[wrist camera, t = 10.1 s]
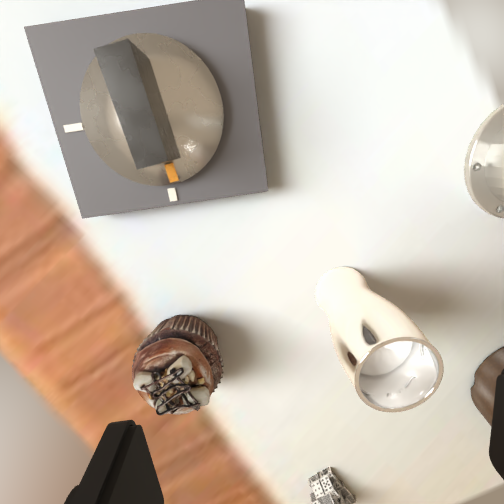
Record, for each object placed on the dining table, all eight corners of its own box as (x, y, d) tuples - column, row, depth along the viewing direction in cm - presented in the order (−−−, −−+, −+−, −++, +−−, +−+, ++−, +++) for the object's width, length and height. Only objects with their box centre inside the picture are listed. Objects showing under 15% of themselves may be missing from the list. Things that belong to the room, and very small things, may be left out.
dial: (61, 59, 28) (10, 35, 22) (200, 18, 27) (188, -19, 21) (116, 199, 32) (85, 212, 25) (239, 165, 31) (239, 170, 25)
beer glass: (355, 251, 37) (427, 318, 23) (379, 300, 39) (459, 389, 25) (300, 281, 38) (336, 363, 24) (326, 327, 40) (374, 428, 26)
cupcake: (127, 334, 40) (91, 394, 30) (194, 292, 38) (179, 342, 29) (176, 389, 42) (157, 461, 33) (240, 352, 41) (240, 416, 31)
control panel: (243, 7, 30) (243, -9, 27) (265, 187, 35) (268, 191, 32) (44, 37, 30) (22, 26, 27) (95, 212, 35) (81, 218, 32)
